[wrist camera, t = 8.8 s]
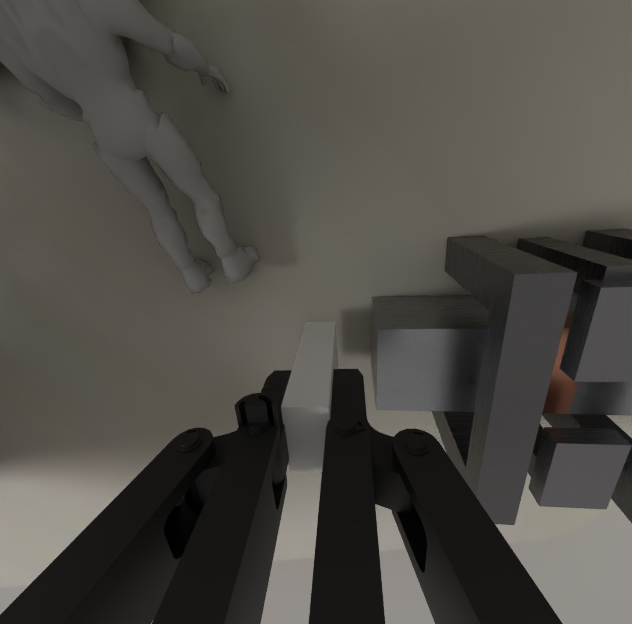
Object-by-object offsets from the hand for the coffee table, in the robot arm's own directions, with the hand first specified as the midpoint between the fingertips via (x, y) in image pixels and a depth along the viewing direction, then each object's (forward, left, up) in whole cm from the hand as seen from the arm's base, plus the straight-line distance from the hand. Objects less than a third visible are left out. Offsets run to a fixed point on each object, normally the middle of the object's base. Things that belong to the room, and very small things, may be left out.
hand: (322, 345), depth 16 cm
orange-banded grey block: (+10, 0, -1) cm, 10 cm away
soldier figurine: (-6, +9, -2) cm, 11 cm away
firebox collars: (+10, 0, -1) cm, 10 cm away
